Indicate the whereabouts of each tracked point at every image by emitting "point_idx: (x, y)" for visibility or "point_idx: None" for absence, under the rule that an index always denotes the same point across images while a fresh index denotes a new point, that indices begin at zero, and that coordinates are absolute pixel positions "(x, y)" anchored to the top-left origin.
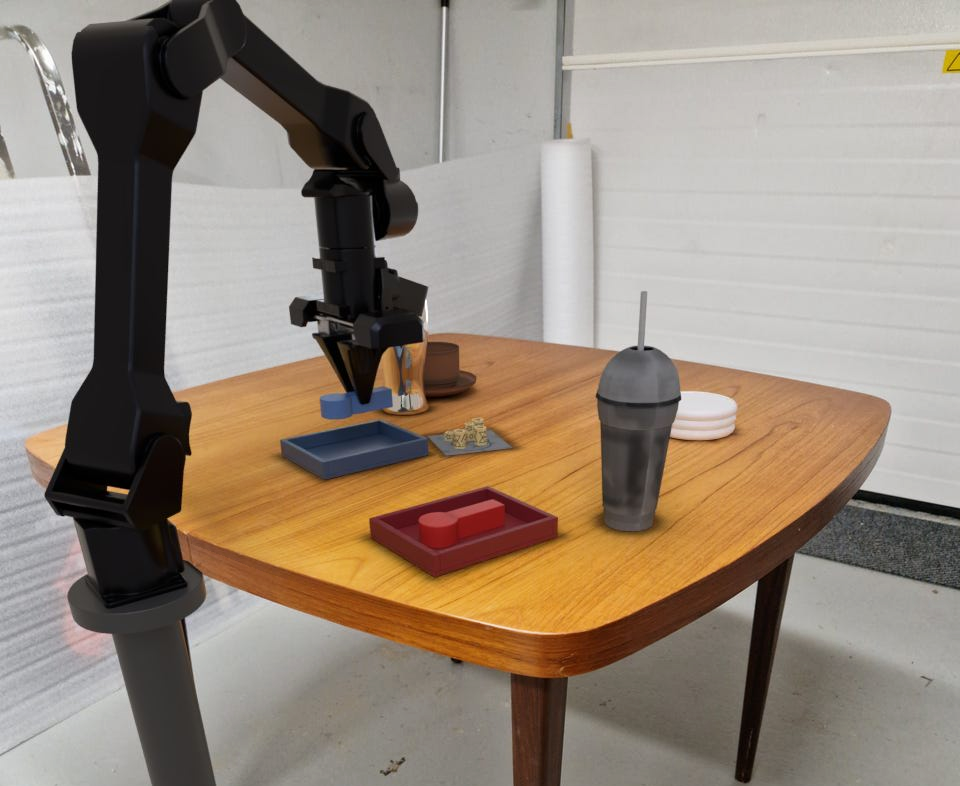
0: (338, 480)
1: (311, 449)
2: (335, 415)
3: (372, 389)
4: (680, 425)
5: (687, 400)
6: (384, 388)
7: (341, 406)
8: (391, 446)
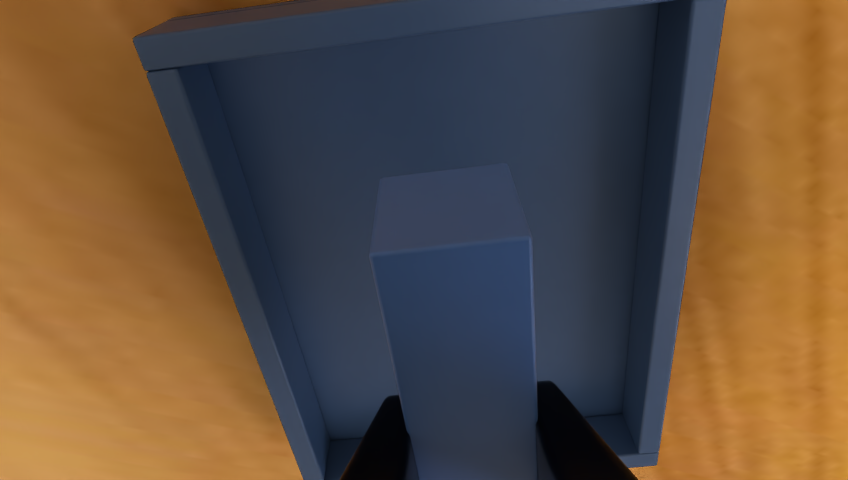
0: (669, 383)
1: (329, 379)
2: None
3: (611, 449)
4: None
5: None
6: (468, 282)
7: None
8: (691, 209)
